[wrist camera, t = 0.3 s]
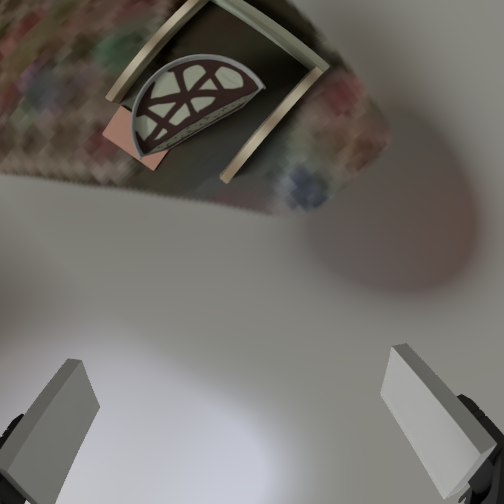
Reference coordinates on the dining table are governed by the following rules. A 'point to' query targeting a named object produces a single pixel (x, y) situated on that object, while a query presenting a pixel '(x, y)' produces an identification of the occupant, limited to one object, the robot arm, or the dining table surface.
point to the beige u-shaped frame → (260, 22)
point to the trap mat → (128, 137)
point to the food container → (188, 100)
